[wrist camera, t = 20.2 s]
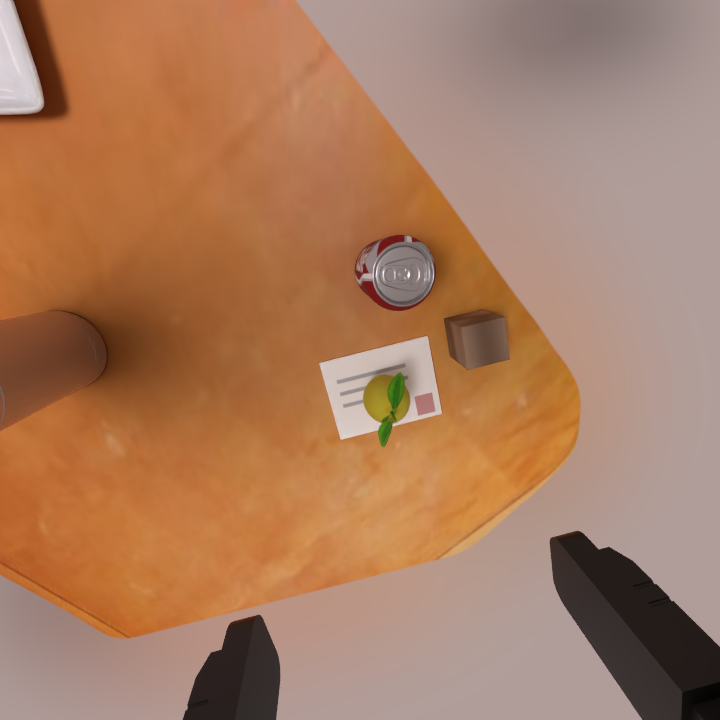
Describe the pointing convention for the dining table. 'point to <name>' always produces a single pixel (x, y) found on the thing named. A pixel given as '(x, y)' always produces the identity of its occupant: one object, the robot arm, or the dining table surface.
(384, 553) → the dining table surface
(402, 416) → the lemon
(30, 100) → the square plate
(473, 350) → the walnut block
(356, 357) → the letter
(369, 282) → the soda can
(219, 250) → the dining table surface
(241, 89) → the dining table surface
